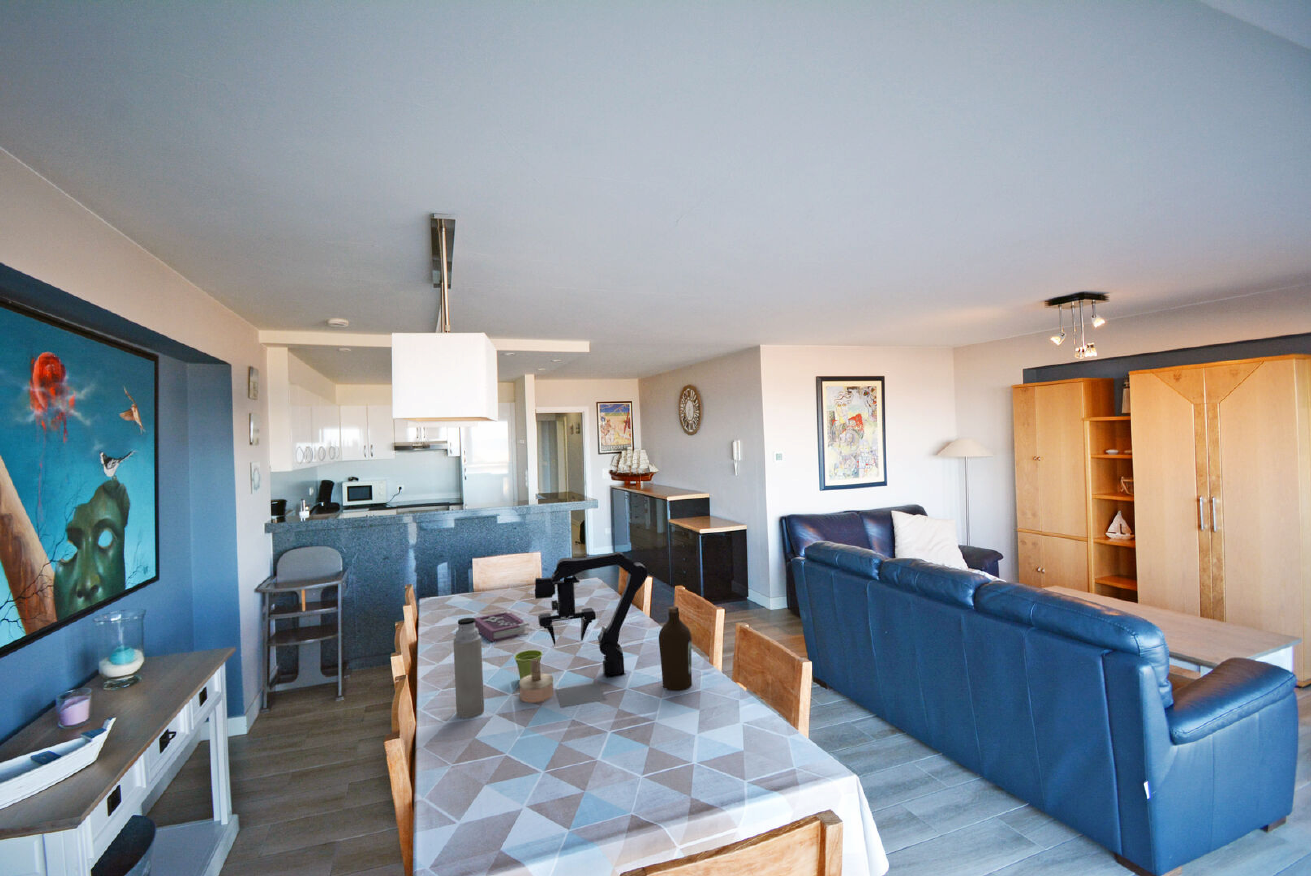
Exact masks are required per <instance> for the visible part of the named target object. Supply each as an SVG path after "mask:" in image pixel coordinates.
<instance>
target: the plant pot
mask: <svg viewBox="0 0 1311 876" xmlns="http://www.w3.org/2000/svg"><path fill="white" fill-rule="evenodd" d="M543 655H544V654H543V652H542V651H540V650H536V649H529V650H528V649H527V650H524V651H520V652H518V653H516V654H515V655H514V656H513V658H514V660H515V663H516V665H517V669H518V673H519V681H520V680H521V679H522V678H523V677H525V676H528V675H531V660H534V659H539V660H540V661H541V660H542V656H543Z"/></svg>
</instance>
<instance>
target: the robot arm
mask: <svg viewBox="0 0 1311 876" xmlns="http://www.w3.org/2000/svg"><path fill="white" fill-rule="evenodd" d="M611 566H619V567H620V568H621V569H622V570H624V571H625V572H626V573H627V575H626V581H625V588H624V589H623V591H622V594H621V596H620V599H619V601H618V603H617V606H616V607H615V610H614V612H613V615H612V616H611V619H610V622H609V624H608V625H607V626H606V627H605V626H602V627H601V629H600V633H599V634H598V636H597V639H598V647H599V651H600V653H601V654H602V655H604V656H603V661H602V674H603V675H604V676H605V677H606V679H607V678H615V677H622V676H626V675H627V674H626V673H625V663H624V662H625V660H624V653H623V650H622V647H621V644H620V643H618V642H619V638H620V632H621V628H623V627H622V626H623V624H624V622H625V619H626V617H627V615H628V613H629V610H630V608H631V605H632V603H633V600H634V598H635V597H636V594H637V592H638V591H639V590H640V589H641V588H642V586H643V585H644V583H645V582H646V580H647V579H648V576H649V575H648V570H647V568H646V566H644V564H643V563H641V562H635V561H634V560H632V559H631V558H629V557H628V556H626V555H624V554H623V552H621V551H615V552H612V553H607V554H599V555H594V556H590V557H589V556H588V557H582V558H580V557H562V558H560V559H559V560H558V561H557V563H556V566H555V567H556V568H555V570H554V572H553V573H552V574H551V577H536V578H535V580H534V581H535V584H534V587H535V588H534V598H535V600H538V599H551V598H553V596H554V595H556V592H557V599H556V600H551V611H556V614H555V615H552V614H551V613H550V612H546V613H540V614H539V615H538V625H539V627H540V628H543V629H544V630H545V629H547V630H548V633H549V635H550V637H551V640H552V643H553V645H554V646H555V645H556V637H555V636H556V635H555V630H554V626H553V622H560V621H567V620H568V621H569V620H575V619H580V641H581V642H583V640H584V637H585V634H586V632H587V628H588V627H589V625H590V624H591V623H593V621H594V620H596V618H597V615H596V611H595V610H594V609H593V608H592V607H587V608H581V611H579V612H576V600H575V599H576V598H575V597H576V596H575V584H579V583H580V578H578V576H577V575H578V574H580V573H582V572H584V571H589V570H595V569H602V568H606V567H611ZM556 589H557V590H556Z"/></svg>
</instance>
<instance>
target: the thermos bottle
mask: <svg viewBox="0 0 1311 876" xmlns="http://www.w3.org/2000/svg"><path fill="white" fill-rule="evenodd" d="M474 618H475V617H464V618H460V619H458V621H457V624H458V625H457V627H458V629H457V630H456V631H455V635H454V637H455V638H454V639H453V660H454V661H453V663H454V686H455V687H454V688H455V706H456V707H455V708H456V710H455V712H456V717H458V718H459V719H471V718H475V717H478V716H480V715H482V714H483V713H484V711H485V700H484V699H485V695H484V694H485V693H484V676H483V653H482V635H480V633H479V631H478V628H476V627H475V623H474V622H475V619H474Z"/></svg>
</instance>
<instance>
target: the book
mask: <svg viewBox="0 0 1311 876" xmlns="http://www.w3.org/2000/svg"><path fill="white" fill-rule="evenodd" d="M473 618H474V619H475V622H474V623H475V627H476V628H478V631H479V632H481V633H482V634H483V635H484V638H486V637H487V638H488V639H489V640H488V639H487V638H486V639H487V640H488V641H489V642H491V641H492V642H491V643H495V642H494V641H496V642H498V641H499V642H500V641H503V640H509V639H512V637H513V638H517V637H521V636H522V637H523V636H525V635H529V632H528V631H526V629H525V628H526V627H527V626H528V627H529V625H530V623H529V622H528V621H526V620H524V619H522V618H520V617H519V616H517V615H515V614H514V613H512V612H511V611H510V610H506V611H502V612H501V611H500V612H498V613H493V614H488V615H482V616H477V617H473ZM481 633H480V634H481ZM482 634H481V635H482ZM483 635H482V636H483ZM508 638H509V639H508Z"/></svg>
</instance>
